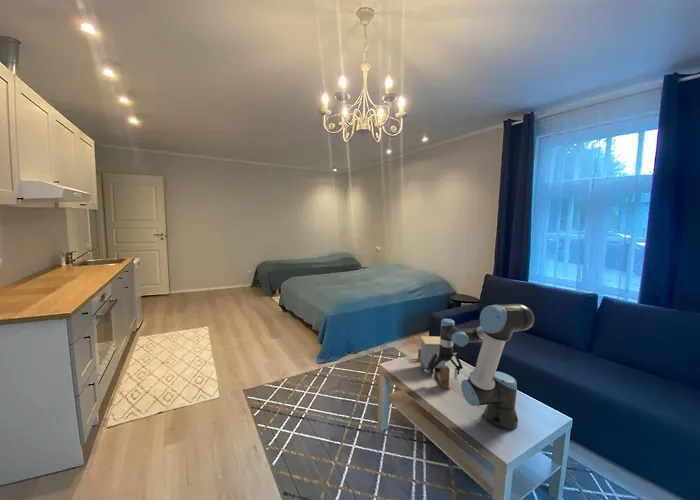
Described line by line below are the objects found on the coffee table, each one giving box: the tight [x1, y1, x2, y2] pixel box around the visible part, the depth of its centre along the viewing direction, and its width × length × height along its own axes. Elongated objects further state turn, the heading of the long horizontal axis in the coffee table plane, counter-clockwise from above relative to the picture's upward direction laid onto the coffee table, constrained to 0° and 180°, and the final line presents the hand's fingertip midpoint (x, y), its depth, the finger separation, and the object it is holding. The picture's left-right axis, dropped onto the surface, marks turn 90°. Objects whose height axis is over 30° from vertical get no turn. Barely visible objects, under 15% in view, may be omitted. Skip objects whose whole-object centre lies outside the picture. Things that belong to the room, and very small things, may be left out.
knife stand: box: [417, 348, 449, 363], centre depth 209 cm, size 4×20×7 cm, turn 90°
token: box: [423, 368, 431, 374], centre depth 194 cm, size 5×5×2 cm
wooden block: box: [434, 365, 451, 390], centre depth 182 cm, size 17×4×12 cm, turn 0°
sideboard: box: [419, 335, 446, 371], centre depth 193 cm, size 13×14×21 cm
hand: (444, 379), depth 176 cm, fingers open, 13 cm apart
